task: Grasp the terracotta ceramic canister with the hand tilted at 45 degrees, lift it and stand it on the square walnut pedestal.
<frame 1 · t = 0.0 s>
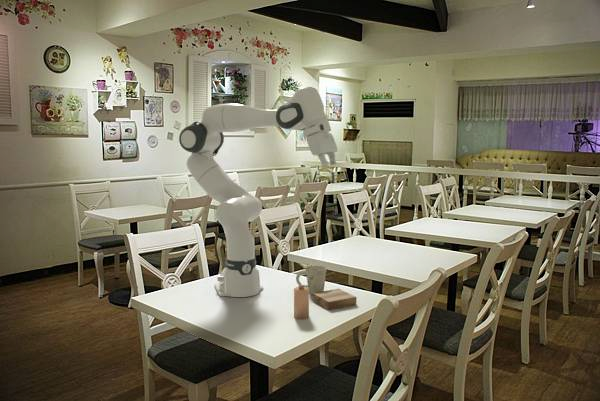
hand: (329, 165, 183), 52 cm above the table, tool tilted 20°, fingers open, 8 cm apart
mug: (310, 292, 204), on the table
pedestal: (334, 302, 190), on the table
canister: (301, 316, 176), on the table
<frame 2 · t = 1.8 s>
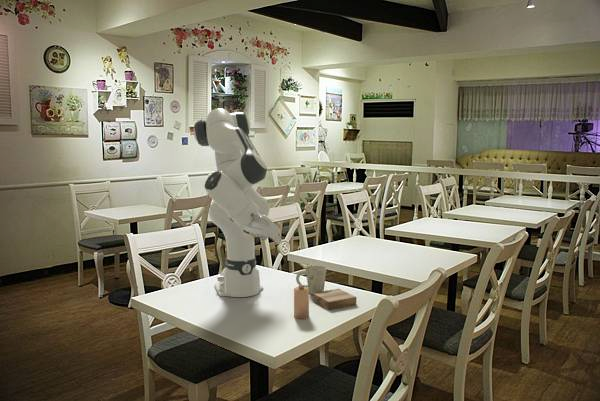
hand: (272, 240, 166), 28 cm above the table, tool tilted 45°, fingers open, 8 cm apart
nothing on the table moved.
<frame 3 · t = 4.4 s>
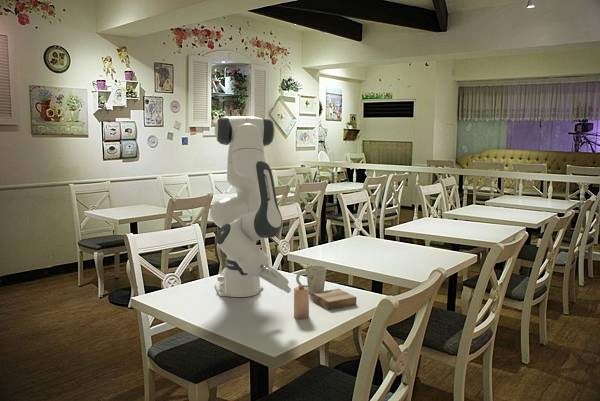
hand: (282, 287, 171), 12 cm above the table, tool tilted 45°, fingers open, 8 cm apart
nothing on the table moved.
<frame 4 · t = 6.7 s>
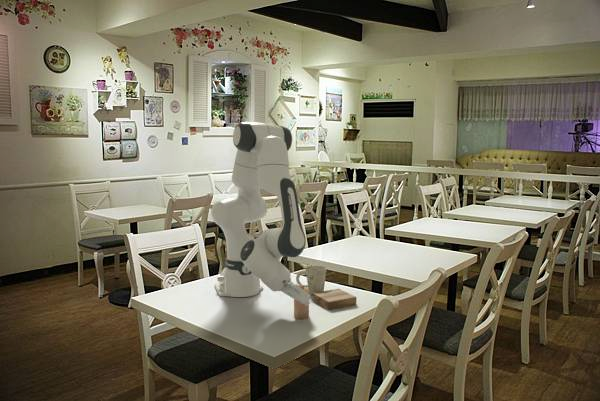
hand: (303, 301, 175), 5 cm above the table, tool tilted 45°, fingers closed on canister, 5 cm apart
canister: (301, 316, 176), on the table, touching gripper
everything else where it was.
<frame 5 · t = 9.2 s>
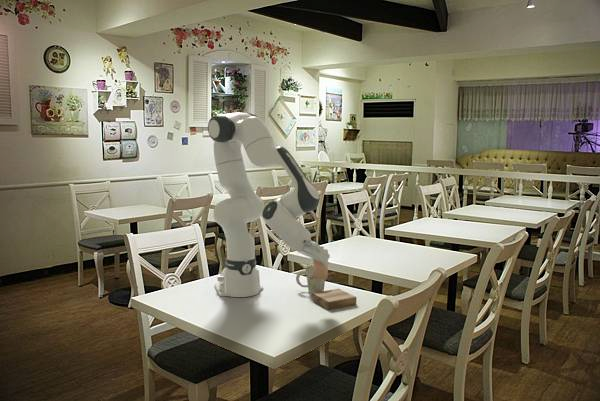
hand: (322, 262, 182), 17 cm above the table, tool tilted 45°, fingers closed on canister, 5 cm apart
canister: (320, 277, 182), point 12 cm above the table, touching gripper
everything else where it was.
when the fingers open (10 cm above the table, at t = 12.0 s): canister drops 1 cm, resting on pedestal.
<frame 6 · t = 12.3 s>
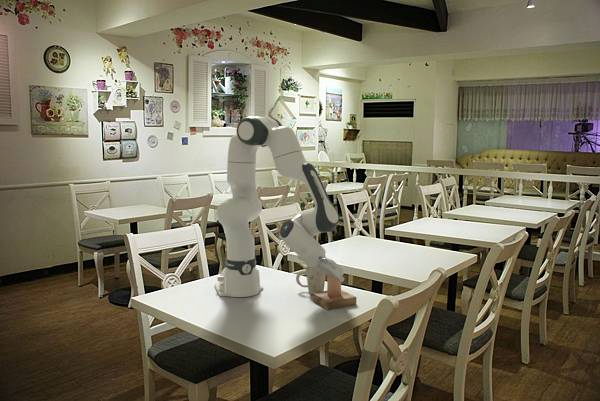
hand: (335, 277, 189), 10 cm above the table, tool tilted 45°, fingers open, 8 cm apart
canister: (334, 295, 190), point 3 cm above the table, touching pedestal
everything else where it was.
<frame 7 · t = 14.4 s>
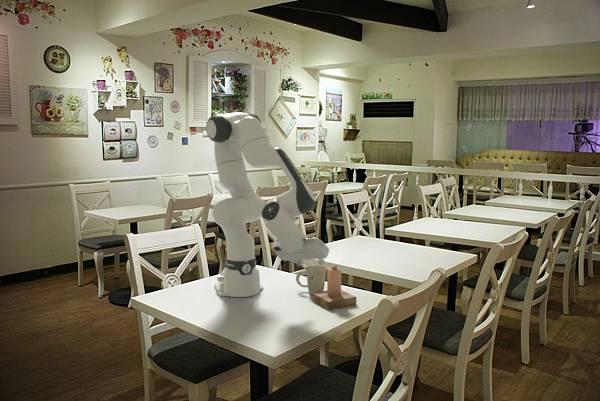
hand: (311, 264, 183), 16 cm above the table, tool tilted 40°, fingers open, 8 cm apart
nothing on the table moved.
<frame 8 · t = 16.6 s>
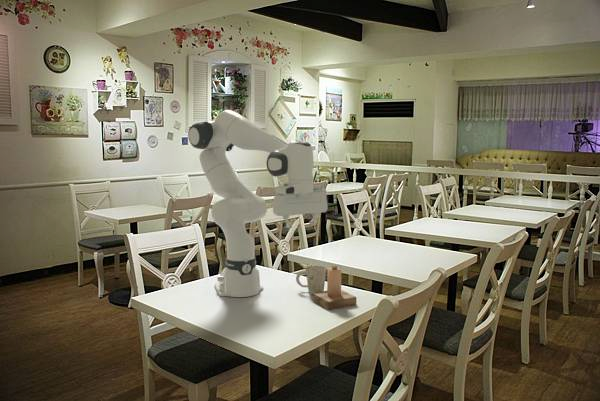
hand: (300, 226, 176), 31 cm above the table, tool pointing down, fingers open, 8 cm apart
nothing on the table moved.
at the end: canister inside the target area on the pedestal (0.0 cm from its centre), point 3.0 cm above the pedestal's base; canister tilted 0°; the gripper is holding nothing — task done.
